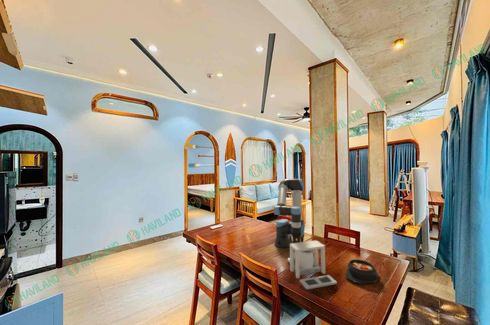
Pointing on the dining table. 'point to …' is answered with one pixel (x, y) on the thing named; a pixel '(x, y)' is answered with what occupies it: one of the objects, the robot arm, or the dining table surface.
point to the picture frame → (309, 270)
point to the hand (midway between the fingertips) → (296, 255)
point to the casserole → (361, 272)
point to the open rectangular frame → (319, 280)
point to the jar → (306, 259)
